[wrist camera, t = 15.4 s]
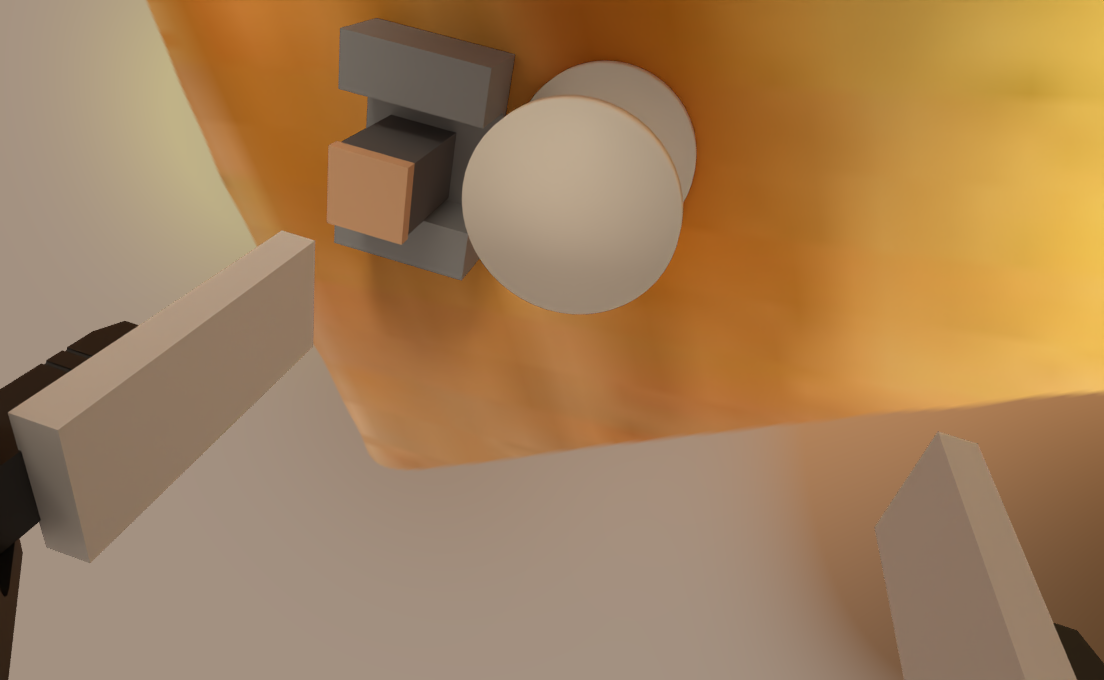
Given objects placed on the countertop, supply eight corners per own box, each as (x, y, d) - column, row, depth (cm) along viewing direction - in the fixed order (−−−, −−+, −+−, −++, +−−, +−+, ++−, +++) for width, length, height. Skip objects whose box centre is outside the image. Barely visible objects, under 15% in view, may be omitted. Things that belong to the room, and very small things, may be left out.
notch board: (376, 18, 39) (340, 27, 35) (515, 54, 38) (491, 67, 35) (366, 217, 45) (334, 242, 42) (484, 252, 45) (461, 280, 41)
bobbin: (536, 39, 37) (477, 72, 30) (721, 87, 36) (712, 135, 28) (506, 213, 43) (450, 280, 35) (667, 259, 42) (646, 339, 34)
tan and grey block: (389, 112, 41) (328, 145, 35) (458, 131, 40) (408, 167, 35) (384, 180, 43) (326, 222, 37) (449, 199, 43) (401, 244, 37)
